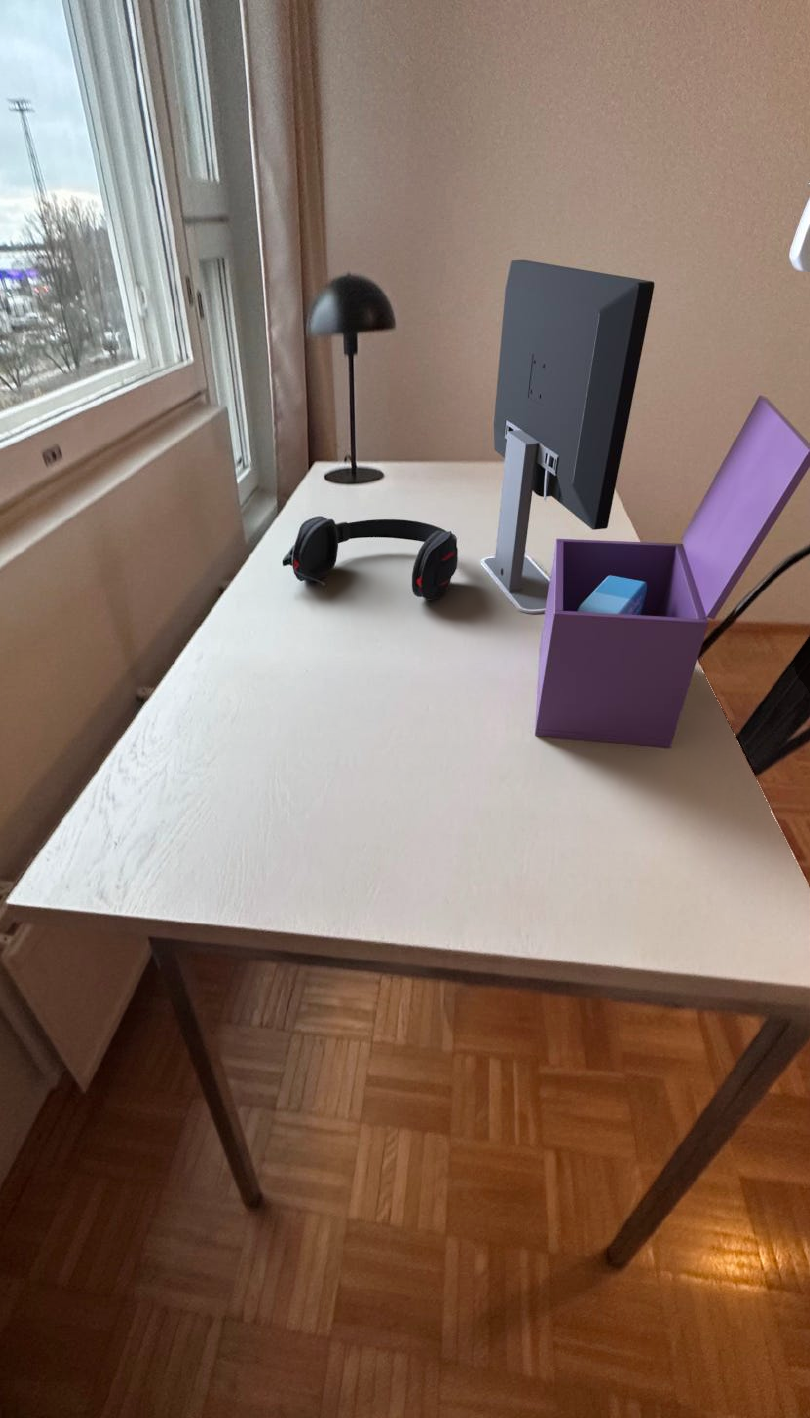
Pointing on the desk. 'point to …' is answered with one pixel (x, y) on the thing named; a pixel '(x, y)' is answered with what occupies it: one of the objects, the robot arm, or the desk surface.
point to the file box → (618, 645)
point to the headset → (323, 535)
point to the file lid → (744, 502)
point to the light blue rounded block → (616, 597)
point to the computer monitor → (561, 404)
